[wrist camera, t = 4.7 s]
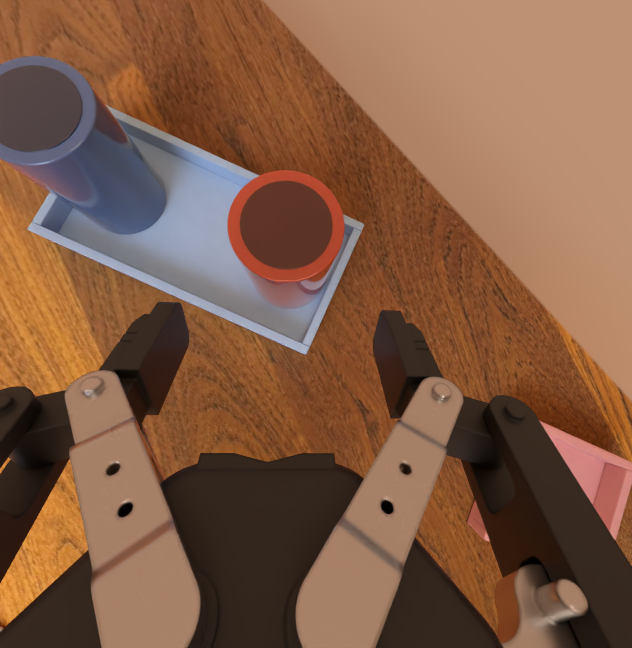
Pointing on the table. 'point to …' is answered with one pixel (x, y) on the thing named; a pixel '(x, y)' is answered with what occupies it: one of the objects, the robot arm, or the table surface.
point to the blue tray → (192, 240)
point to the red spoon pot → (286, 236)
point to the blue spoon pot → (75, 145)
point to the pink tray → (586, 479)
